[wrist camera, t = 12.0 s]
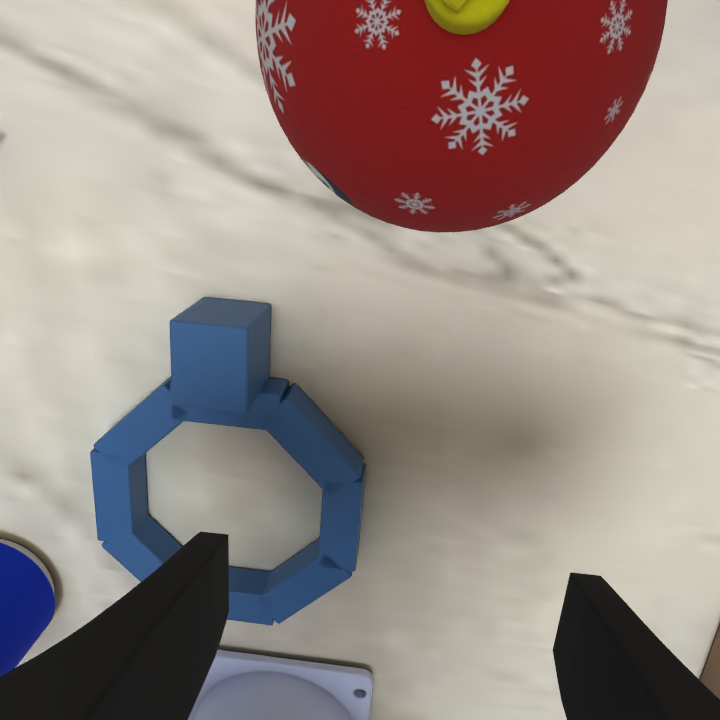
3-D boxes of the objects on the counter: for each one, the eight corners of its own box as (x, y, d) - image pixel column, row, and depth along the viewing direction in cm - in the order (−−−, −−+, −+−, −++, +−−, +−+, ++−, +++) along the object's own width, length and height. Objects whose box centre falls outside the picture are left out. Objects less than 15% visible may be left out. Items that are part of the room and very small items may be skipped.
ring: (353, 609, 24) (344, 670, 21) (119, 580, 25) (81, 635, 22) (380, 313, 20) (374, 340, 17) (97, 286, 20) (47, 307, 18)
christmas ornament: (658, 64, 17) (968, -44, 7) (429, 269, 19) (444, 382, 10) (459, -201, 15) (530, -771, 6) (237, 59, 18) (37, -44, 8)
